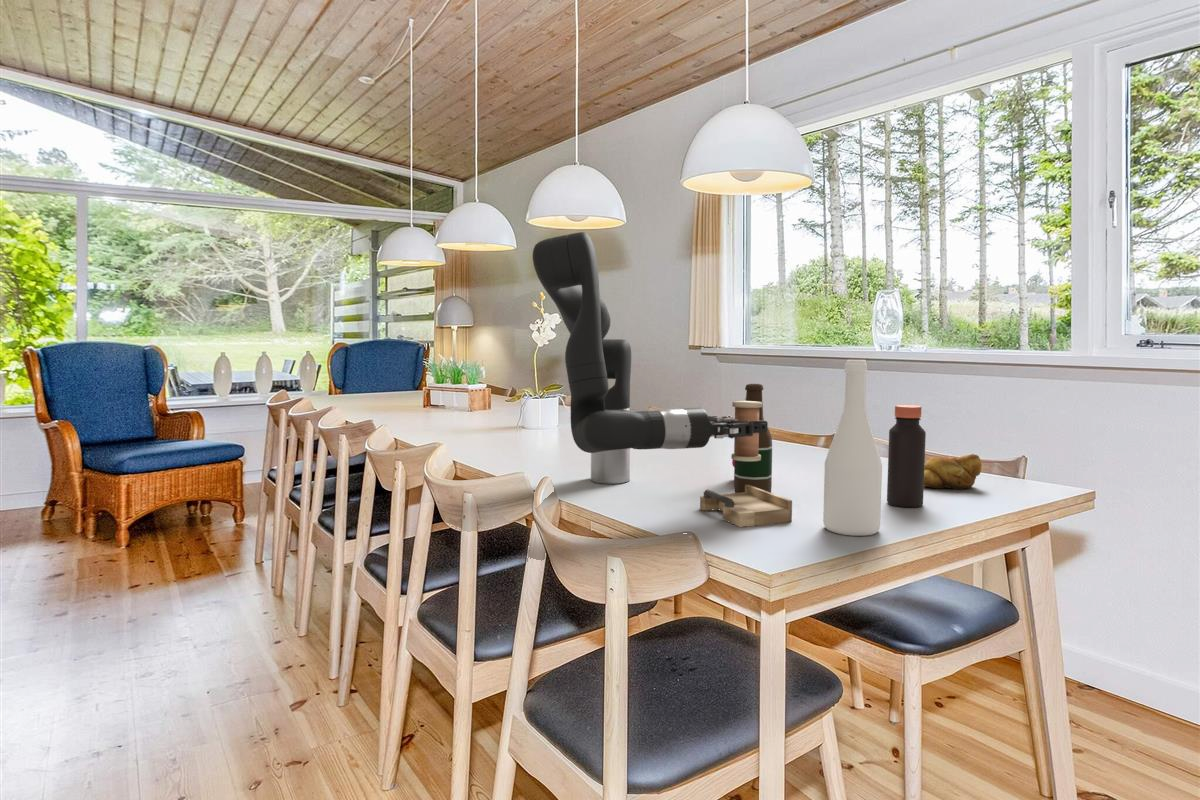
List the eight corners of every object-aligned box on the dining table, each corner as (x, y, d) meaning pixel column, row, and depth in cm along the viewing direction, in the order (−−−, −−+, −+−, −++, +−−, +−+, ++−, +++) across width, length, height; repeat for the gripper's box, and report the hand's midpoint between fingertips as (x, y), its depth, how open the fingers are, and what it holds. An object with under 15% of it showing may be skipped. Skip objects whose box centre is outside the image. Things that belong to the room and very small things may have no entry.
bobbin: (726, 457, 144) (727, 401, 143) (750, 455, 146) (752, 400, 145) (741, 462, 138) (742, 403, 138) (766, 460, 140) (767, 403, 139)
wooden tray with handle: (699, 508, 146) (700, 488, 145) (748, 504, 150) (748, 484, 149) (739, 527, 132) (740, 505, 131) (791, 521, 136) (792, 500, 135)
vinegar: (922, 509, 145) (926, 408, 143) (885, 506, 147) (888, 407, 146) (923, 502, 151) (926, 405, 149) (887, 499, 154) (891, 404, 152)
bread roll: (927, 491, 162) (928, 455, 161) (908, 482, 171) (909, 448, 170) (985, 491, 162) (987, 455, 161) (963, 482, 171) (964, 448, 171)
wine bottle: (869, 523, 135) (874, 359, 132) (887, 537, 125) (893, 361, 122) (817, 522, 135) (821, 359, 132) (831, 537, 125) (836, 361, 123)
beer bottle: (754, 502, 151) (755, 386, 149) (726, 496, 157) (727, 384, 155) (779, 497, 156) (781, 384, 153) (751, 491, 162) (752, 382, 160)
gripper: (698, 412, 130) (780, 408, 135) (663, 405, 143) (740, 402, 149) (697, 454, 130) (779, 449, 136) (663, 443, 144) (739, 439, 149)
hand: (758, 424), depth 142 cm, fingers closed on bobbin, 4 cm apart
